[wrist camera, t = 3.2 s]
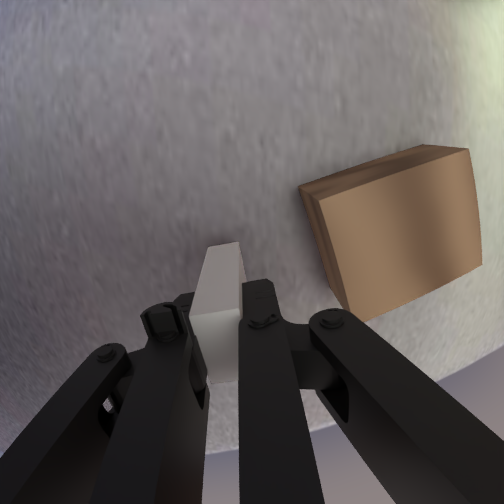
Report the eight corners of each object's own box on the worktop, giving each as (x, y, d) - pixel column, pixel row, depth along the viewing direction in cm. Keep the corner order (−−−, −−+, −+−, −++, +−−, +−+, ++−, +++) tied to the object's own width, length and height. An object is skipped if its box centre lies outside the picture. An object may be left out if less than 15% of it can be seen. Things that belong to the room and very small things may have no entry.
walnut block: (329, 286, 21) (354, 326, 16) (297, 185, 18) (318, 200, 14) (440, 239, 20) (482, 264, 15) (421, 144, 18) (468, 148, 13)
